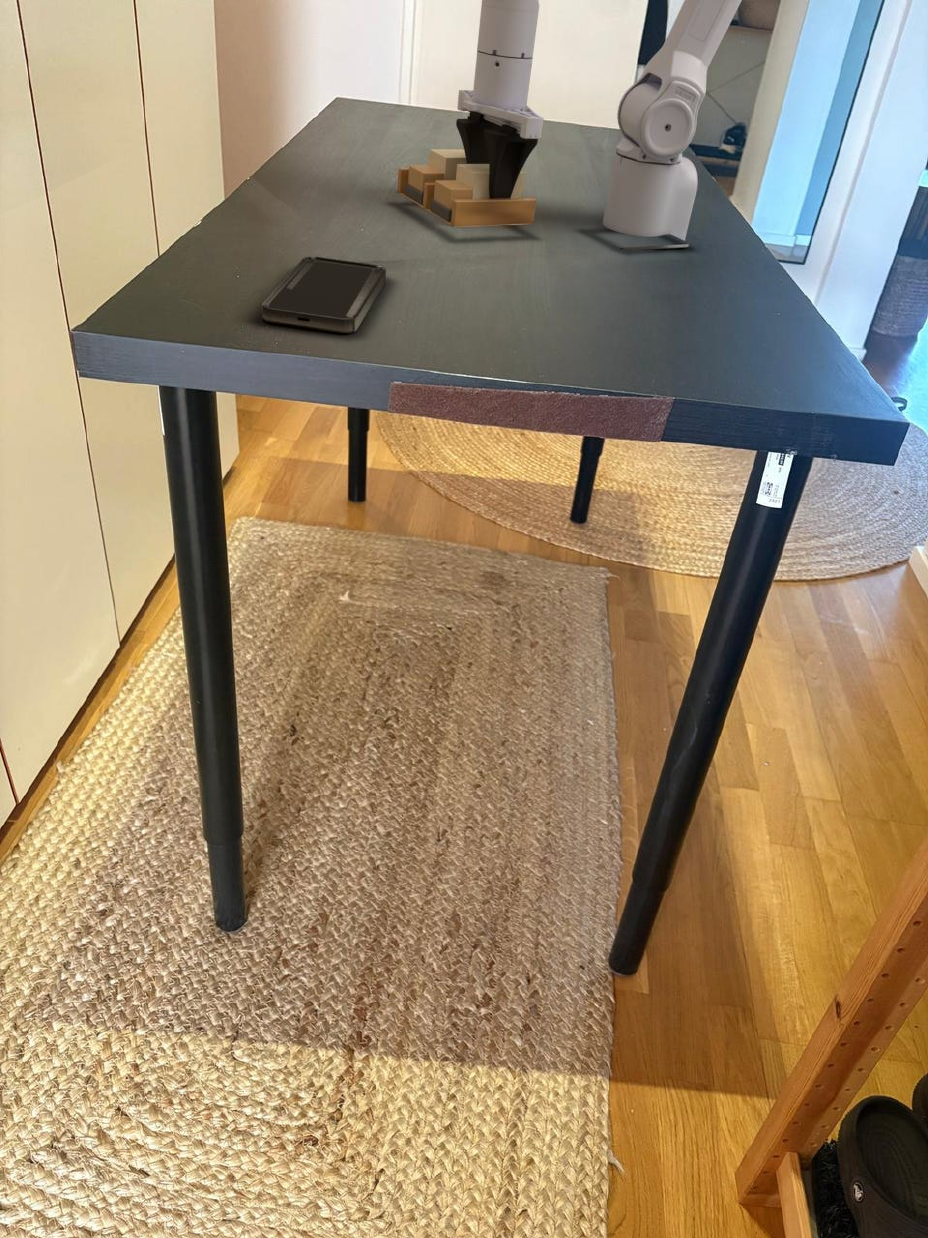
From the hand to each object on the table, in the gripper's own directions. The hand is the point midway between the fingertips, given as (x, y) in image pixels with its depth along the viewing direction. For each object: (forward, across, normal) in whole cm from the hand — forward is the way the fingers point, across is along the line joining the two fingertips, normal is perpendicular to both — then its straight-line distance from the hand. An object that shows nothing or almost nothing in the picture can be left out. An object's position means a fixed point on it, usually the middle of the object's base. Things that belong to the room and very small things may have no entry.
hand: (488, 196), depth 101 cm
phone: (+3, +18, -26) cm, 32 cm away
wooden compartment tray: (+3, -3, -1) cm, 5 cm away
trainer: (+2, 0, -1) cm, 2 cm away
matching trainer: (+2, -7, -1) cm, 7 cm away
